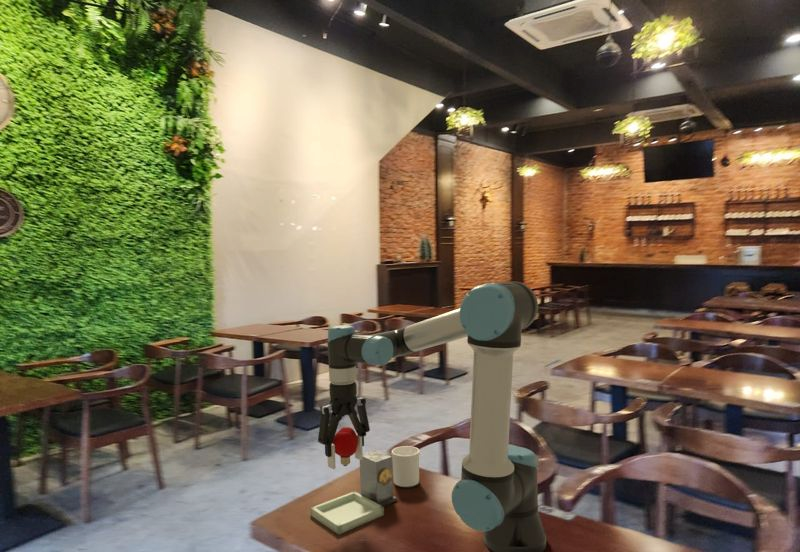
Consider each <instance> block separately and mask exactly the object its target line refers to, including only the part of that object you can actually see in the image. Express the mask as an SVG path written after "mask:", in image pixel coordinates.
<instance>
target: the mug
mask: <svg viewBox="0 0 800 552" xmlns="http://www.w3.org/2000/svg"><path fill="white" fill-rule="evenodd" d="M420 452H421V451H420V449H419V448H418V447H416V446H410V445H402V446H397V447H394V448H392V449H391V456H392V471H393V485H394V486H395V487H396V488H398V489H413V488H415V487H417V486H419V484H420Z"/></svg>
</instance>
